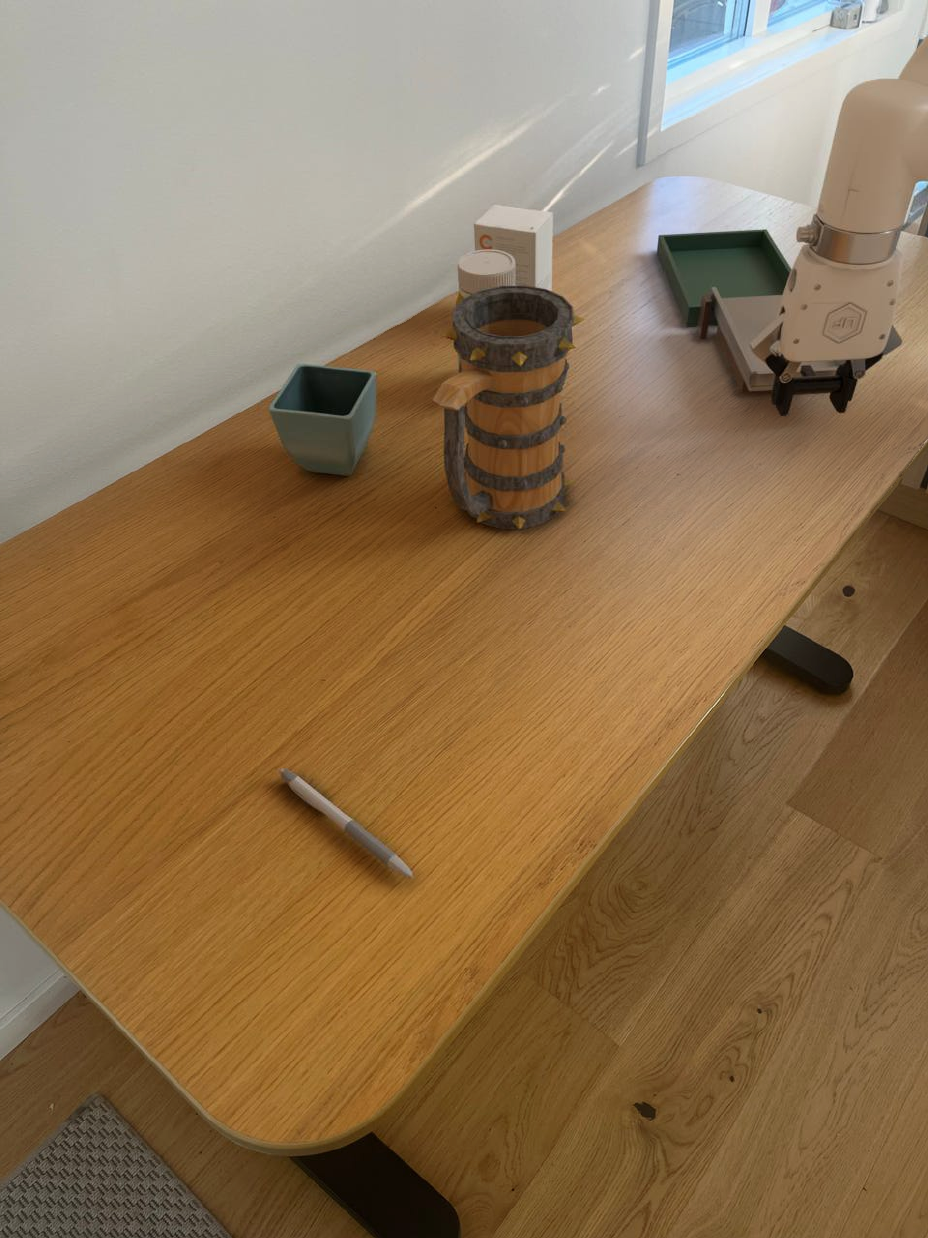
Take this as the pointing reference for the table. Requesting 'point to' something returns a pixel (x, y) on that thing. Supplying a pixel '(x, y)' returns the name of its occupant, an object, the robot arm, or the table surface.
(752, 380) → the grey pull-out drawer
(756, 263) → the tray
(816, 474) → the table surface
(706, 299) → the stand
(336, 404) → the flower pot
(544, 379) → the mug
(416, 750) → the table surface
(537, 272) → the small box
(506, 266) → the bottle
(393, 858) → the pen
